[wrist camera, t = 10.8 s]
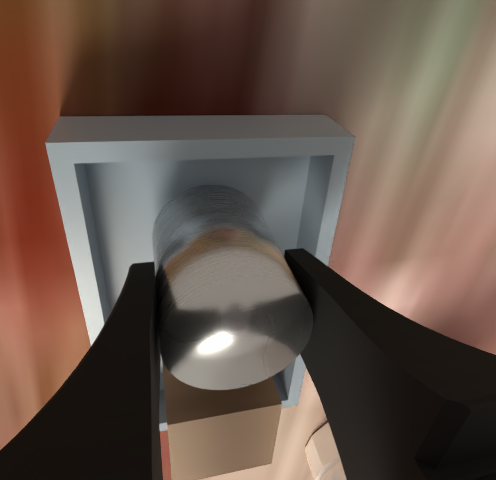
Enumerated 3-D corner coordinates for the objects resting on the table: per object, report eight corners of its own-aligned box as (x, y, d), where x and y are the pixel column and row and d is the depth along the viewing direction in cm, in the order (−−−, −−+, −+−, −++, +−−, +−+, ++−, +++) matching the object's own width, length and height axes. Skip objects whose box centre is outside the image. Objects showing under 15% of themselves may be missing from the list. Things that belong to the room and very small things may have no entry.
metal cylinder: (127, 223, 13) (125, 334, 9) (231, 162, 13) (276, 250, 9) (191, 295, 15) (211, 408, 11) (279, 245, 15) (333, 343, 11)
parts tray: (114, 395, 20) (112, 440, 18) (59, 116, 12) (45, 143, 10) (283, 367, 22) (297, 405, 20) (325, 114, 14) (355, 136, 12)
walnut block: (164, 378, 19) (172, 485, 15) (159, 318, 17) (167, 425, 13) (243, 365, 20) (271, 463, 16) (248, 307, 18) (282, 404, 14)
